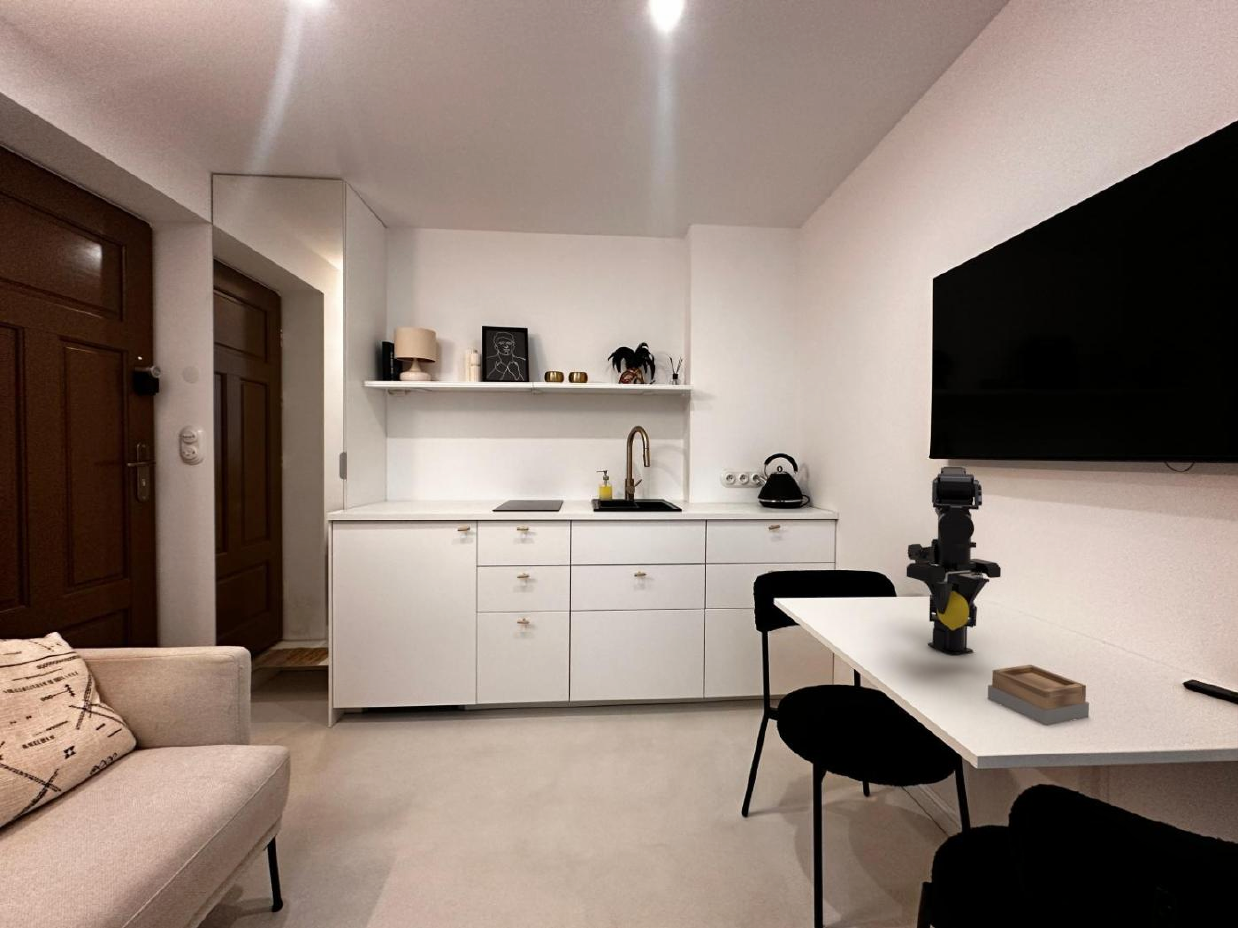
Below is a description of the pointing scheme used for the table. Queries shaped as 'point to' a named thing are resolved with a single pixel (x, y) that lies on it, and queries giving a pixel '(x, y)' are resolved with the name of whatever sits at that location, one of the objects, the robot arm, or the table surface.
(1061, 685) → the wooden tray
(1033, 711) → the bottom block
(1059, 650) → the table surface
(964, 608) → the lemon
